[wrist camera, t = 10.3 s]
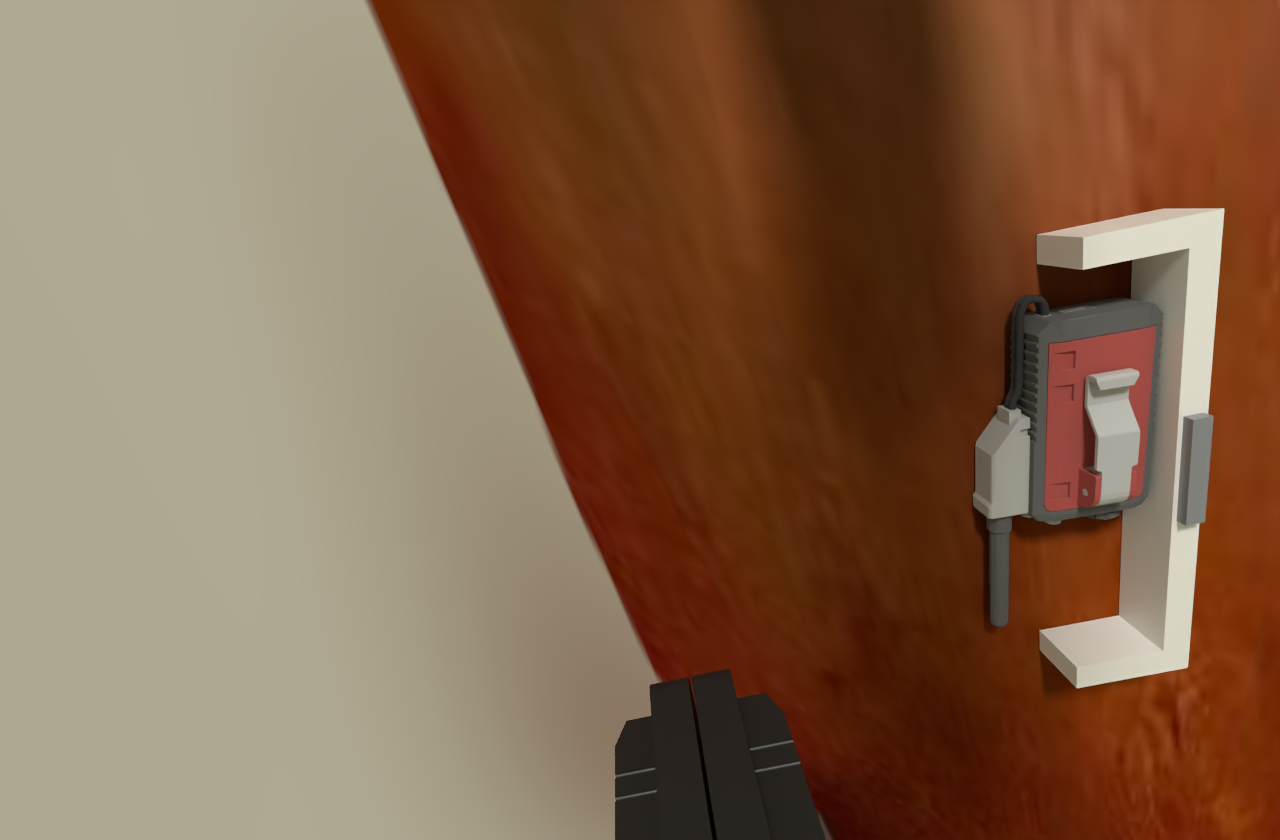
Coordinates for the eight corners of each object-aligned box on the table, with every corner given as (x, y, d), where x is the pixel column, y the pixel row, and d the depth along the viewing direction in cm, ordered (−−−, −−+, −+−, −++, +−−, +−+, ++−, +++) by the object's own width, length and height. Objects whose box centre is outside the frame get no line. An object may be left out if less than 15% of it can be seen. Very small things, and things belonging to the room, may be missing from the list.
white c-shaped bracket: (1036, 234, 33) (1092, 238, 29) (1163, 208, 33) (1236, 208, 29) (1039, 649, 41) (1083, 695, 37) (1141, 630, 41) (1196, 674, 37)
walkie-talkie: (965, 300, 35) (969, 615, 41) (1014, 312, 30) (1010, 661, 37) (1129, 271, 35) (1108, 592, 41) (1201, 279, 30) (1165, 636, 37)
